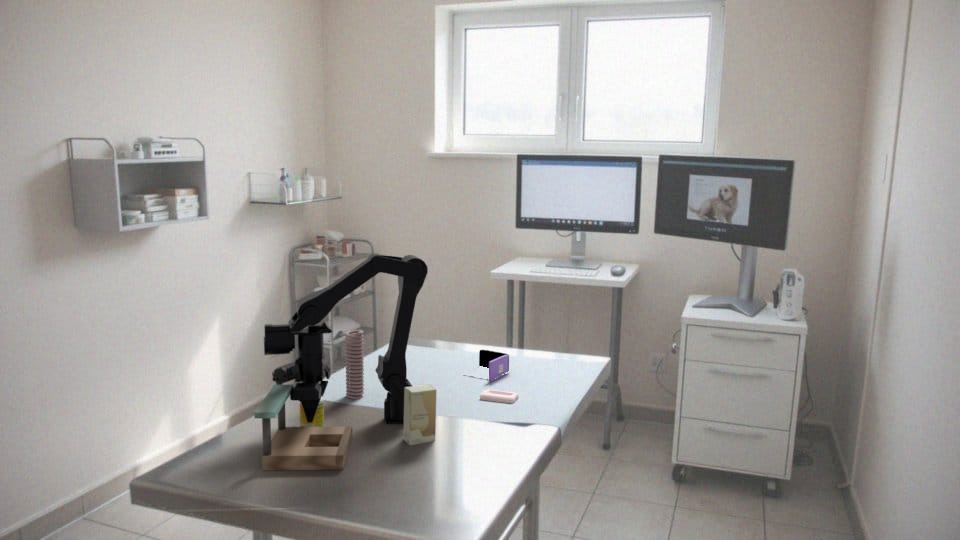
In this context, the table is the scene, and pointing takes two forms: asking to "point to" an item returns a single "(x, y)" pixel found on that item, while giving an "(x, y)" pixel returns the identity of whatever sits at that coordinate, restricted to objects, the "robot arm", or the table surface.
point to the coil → (354, 364)
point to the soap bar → (499, 396)
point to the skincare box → (419, 414)
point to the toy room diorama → (494, 363)
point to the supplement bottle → (318, 417)
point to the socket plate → (299, 439)
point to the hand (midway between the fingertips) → (312, 417)
